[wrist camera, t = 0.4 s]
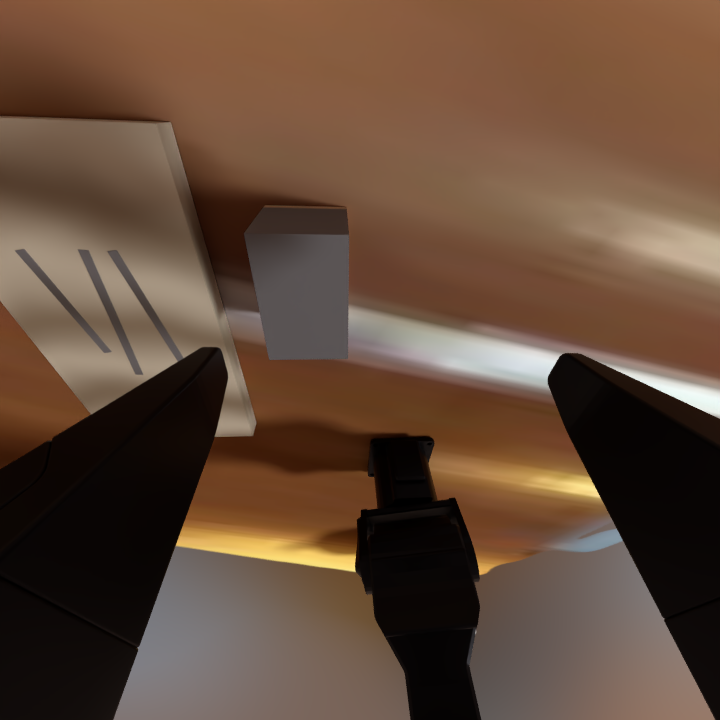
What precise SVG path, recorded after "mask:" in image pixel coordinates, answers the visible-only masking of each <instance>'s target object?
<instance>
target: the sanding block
mask: <svg viewBox="0 0 720 720" xmlns="http://www.w3.org/2000/svg"><path fill="white" fill-rule="evenodd" d="M244 237H245V242H246V247H247V252H248V257H249V262H250V267H251V272H252V277H253V281H254V286H255V291H256V296H257V301H258V306H259V311H260V316H261V321H262V326H263V331H264V336H265V341H266V346H267V351H268V356H269V360H286V359H348V285H349V230H348V219H347V208H346V207H326V206H279V205H264V207H263V208H262V209H261V211H260V212H259V214H258V215H257V216H256V218H255V219H254V220H253V222H252V223H251V224H250V226H249V227H248V228H247V230H246V231H245V232H244Z"/></svg>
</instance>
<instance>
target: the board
mask: <svg viewBox="0 0 720 720" xmlns="http://www.w3.org/2000/svg"><path fill="white" fill-rule="evenodd" d="M0 301H1V302H2V304H3V305H4V306H5V307H6V309H7V310H8V311H9V312H10V314H11V315H12V316H13V317H14V319H15V320H16V321H17V322H18V324H19V325H20V326H21V327H22V329H23V330H24V331H25V332H26V334H27V335H28V336H29V337H30V339H31V340H32V341H33V342H34V344H35V345H36V346H37V347H38V349H39V350H40V351H41V352H42V354H43V355H44V356H45V357H46V359H47V360H48V361H49V362H50V364H51V365H52V366H53V367H54V369H55V370H56V371H57V372H58V374H59V375H60V376H61V377H62V379H63V380H64V381H65V382H66V384H67V385H68V386H69V387H70V389H71V390H72V391H73V392H74V393H75V395H76V396H77V397H78V398H79V400H80V401H81V402H82V403H83V405H84V406H85V407H86V408H87V410H88V411H89V412H90V413H91V414H93V413H94V412H96V411H98V410H99V409H101V408H102V407H104V406H106V405H107V404H109V403H111V402H112V401H114V400H116V399H117V398H119V397H121V396H122V395H124V394H125V393H127V392H129V391H130V390H132V389H134V388H135V387H137V386H139V385H140V384H142V383H144V382H145V381H147V380H148V379H150V378H152V377H153V376H155V375H157V374H158V373H160V372H162V371H163V370H165V369H167V368H168V367H170V366H171V365H173V364H175V363H176V362H178V361H180V360H181V359H183V358H185V357H186V356H188V355H190V354H191V353H193V352H194V351H196V350H198V349H199V348H201V347H218V348H220V349H221V351H222V353H223V357H224V360H225V364H226V368H227V372H228V382H227V387H226V391H225V396H224V400H223V405H222V409H221V413H220V418H219V422H218V426H217V430H216V434H215V437H232V436H253V434H254V430H255V426H256V419H255V416H254V412H253V409H252V405H251V402H250V398H249V395H248V391H247V388H246V384H245V381H244V377H243V374H242V370H241V367H240V363H239V360H238V356H237V353H236V349H235V346H234V342H233V339H232V335H231V331H230V328H229V324H228V321H227V317H226V314H225V310H224V307H223V303H222V300H221V296H220V293H219V289H218V286H217V282H216V279H215V275H214V272H213V268H212V265H211V261H210V258H209V254H208V251H207V247H206V244H205V240H204V237H203V233H202V230H201V226H200V223H199V219H198V216H197V212H196V209H195V205H194V202H193V198H192V195H191V191H190V188H189V184H188V181H187V177H186V174H185V170H184V167H183V163H182V160H181V156H180V153H179V149H178V146H177V142H176V139H175V135H174V132H173V128H172V125H171V122H154V121H127V120H101V119H74V118H48V117H21V116H0Z"/></svg>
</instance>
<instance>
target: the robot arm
mask: <svg viewBox="0 0 720 720" xmlns="http://www.w3.org/2000/svg"><path fill="white" fill-rule="evenodd" d="M227 382H228V372H227V368H226V364H225V360H224V357H223V353H222V351H221V349H220V348H218V347H201V348H199V349H198V350H196V351H194V352H193V353H191V354H190V355H188V356H186V357H185V358H183V359H181V360H180V361H178V362H176V363H175V364H173V365H171V366H170V367H168V368H167V369H165V370H163V371H162V372H160V373H158V374H157V375H155V376H153V377H152V378H150V379H148V380H147V381H145V382H144V383H142V384H140V385H139V386H137V387H135V388H134V389H132V390H130V391H129V392H127V393H125V394H124V395H122V396H121V397H119V398H117V399H116V400H114V401H112V402H111V403H109V404H107V405H106V406H104V407H102V408H101V409H99V410H98V411H96V412H94V413H93V414H91V415H89V416H88V417H86V418H84V419H83V420H81V421H79V422H78V423H76V424H75V425H73V426H71V427H70V428H68V429H66V430H65V431H63V432H61V433H60V434H58V435H56V436H55V437H53V438H52V441H46V442H45V443H43V444H42V445H40V446H38V447H37V448H35V449H33V450H32V451H30V452H28V453H27V454H25V455H24V456H22V457H20V458H18V459H17V460H15V461H13V462H12V463H10V464H8V465H7V466H5V467H3V468H2V469H0V720H113V719H114V716H115V713H116V710H117V707H118V705H119V702H120V699H121V696H122V694H123V691H124V688H125V685H126V682H127V680H128V677H129V674H130V671H131V668H132V666H133V663H134V660H135V657H136V655H137V652H138V648H137V647H139V645H140V643H141V640H142V637H143V635H144V632H145V629H146V626H147V624H148V621H149V618H150V615H151V612H152V610H153V607H154V604H155V601H156V599H157V596H158V593H159V590H160V587H161V585H162V582H163V579H164V576H165V573H166V571H167V568H168V565H169V562H170V559H171V557H172V554H173V551H174V549H175V546H176V543H177V540H178V537H179V535H180V532H181V529H182V526H183V524H184V521H185V518H186V515H187V513H188V510H189V507H190V504H191V501H192V499H193V496H194V493H195V490H196V488H197V485H198V482H199V479H200V476H201V474H202V471H203V468H204V465H205V463H206V460H207V457H208V454H209V451H210V449H211V446H212V443H213V440H214V437H215V434H216V430H217V426H218V422H219V418H220V413H221V409H222V405H223V400H224V396H225V391H226V387H227ZM548 385H549V388H550V390H551V393H552V396H553V398H554V401H555V403H556V406H557V408H558V411H559V413H560V416H561V418H562V421H563V424H564V426H565V428H566V431H567V433H568V435H569V437H570V439H571V441H572V443H573V445H574V447H575V449H576V451H577V453H578V455H579V457H580V458H581V460H582V462H583V464H584V466H585V468H586V470H587V472H588V474H589V476H590V478H591V480H592V482H593V484H594V485H595V487H596V489H597V491H598V493H599V495H600V497H601V499H602V501H603V503H604V505H605V507H606V509H607V511H608V513H609V514H610V516H611V518H612V520H613V522H614V524H615V526H616V528H617V530H618V532H619V534H620V536H621V538H622V540H623V541H624V543H625V545H626V547H627V549H628V551H629V553H630V555H631V557H632V559H633V561H634V563H635V564H636V567H637V568H638V570H639V572H640V574H641V576H642V578H643V580H644V582H645V584H646V586H647V588H648V590H649V592H650V594H651V596H652V597H653V599H654V601H655V603H656V605H657V607H658V609H659V611H660V613H661V615H662V617H663V618H665V619H664V621H665V623H666V625H667V627H668V629H669V631H670V633H671V635H672V637H673V639H674V641H675V642H676V644H677V647H678V648H679V650H680V652H681V654H682V656H683V658H684V660H685V662H686V664H687V666H688V668H689V669H690V672H691V673H692V675H693V677H694V679H695V681H696V683H697V685H698V687H699V689H700V691H701V693H702V695H703V697H704V699H705V701H706V703H707V704H708V706H709V708H710V710H711V712H712V714H713V716H714V718H715V720H720V419H719V418H717V417H715V416H712V415H710V414H708V413H706V412H704V411H702V410H700V409H697V408H695V407H693V406H691V405H689V404H687V403H685V402H683V401H680V400H678V399H676V398H674V397H672V396H670V395H668V394H665V393H663V392H661V391H659V390H657V389H655V388H653V387H650V386H648V385H646V384H644V383H642V382H640V381H638V380H635V379H633V378H631V377H629V376H627V375H625V374H623V373H621V372H618V371H616V370H614V369H612V368H610V367H608V366H606V365H603V364H601V363H599V362H597V361H595V360H593V359H591V358H588V357H586V356H584V355H582V354H578V353H565V354H562V355H561V356H560V357H559V359H558V360H557V362H556V364H555V365H554V367H553V369H552V371H551V372H550V374H549V376H548ZM433 447H434V440H433V438H399V439H373V440H371V442H370V451H369V462H368V476H369V477H374V478H375V488H376V498H377V508H378V509H371V510H367V509H363V510H361V517H360V518H358V519H357V532H358V540H357V551H356V562H355V569H356V573H357V574H358V575H359V576H360V577H361V578H362V582H363V584H364V588H365V592H366V594H367V595H368V594H372V595H373V606H374V615H375V619H376V621H377V623H378V625H379V627H380V629H381V630H382V632H383V634H384V636H385V637H386V639H387V641H388V643H389V645H390V646H391V648H392V650H393V652H394V654H395V656H396V657H397V659H398V661H399V663H400V665H401V666H402V668H403V670H404V673H405V679H406V686H407V694H408V702H409V710H410V719H411V720H481V717H480V712H479V708H478V703H477V699H476V694H475V690H474V686H473V681H472V677H471V672H470V667H469V664H470V659H471V654H472V648H473V643H474V637H475V632H476V628H477V625H478V618H479V611H480V604H479V599H478V596H477V591H476V588H475V584H474V582H479V579H480V578H479V569H478V564H477V559H476V555H475V551H474V548H473V544H472V541H471V538H470V536H469V533H468V530H467V528H466V525H465V522H464V520H463V517H462V515H461V512H460V509H459V507H458V504H457V501H456V499H455V497H454V498H449V499H447V500H440V501H438V500H437V496H436V492H435V488H434V484H433V480H432V476H431V472H430V469H429V465H428V463H429V459H430V456H431V453H432V450H433Z"/></svg>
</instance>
